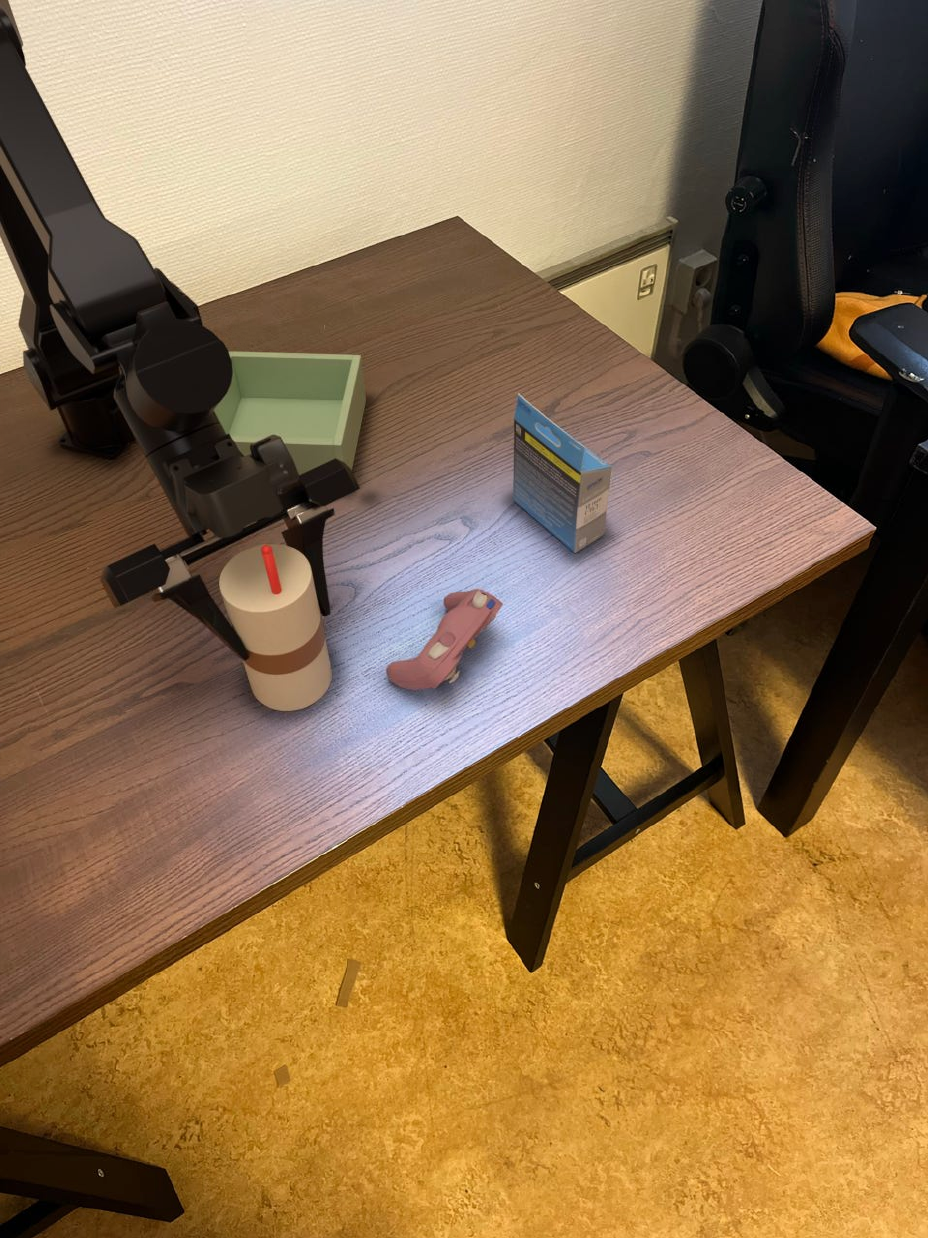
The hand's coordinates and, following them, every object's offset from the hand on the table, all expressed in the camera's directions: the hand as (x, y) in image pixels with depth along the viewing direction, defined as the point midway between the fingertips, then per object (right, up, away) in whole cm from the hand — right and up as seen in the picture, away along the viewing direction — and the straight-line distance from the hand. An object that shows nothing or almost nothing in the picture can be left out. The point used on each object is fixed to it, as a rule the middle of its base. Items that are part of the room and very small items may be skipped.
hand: (287, 637), depth 69 cm
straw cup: (-1, -3, +6) cm, 7 cm away
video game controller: (+12, -2, +7) cm, 14 cm away
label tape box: (+21, +10, +17) cm, 29 cm away
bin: (-4, +19, +24) cm, 31 cm away
